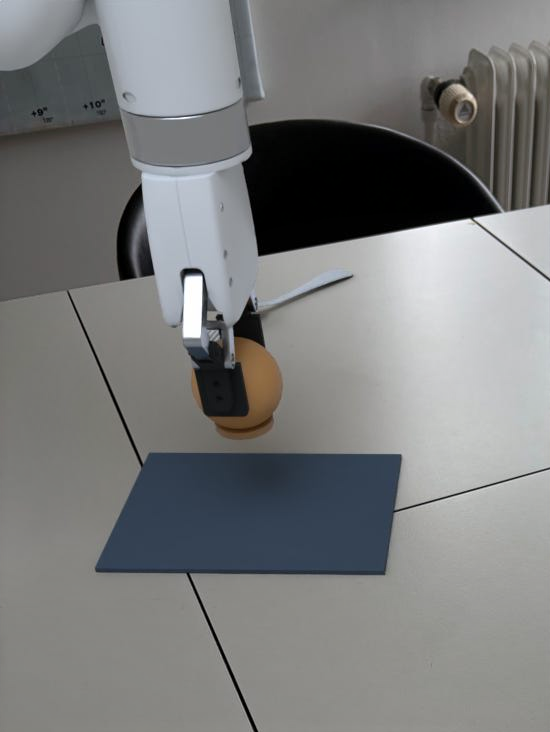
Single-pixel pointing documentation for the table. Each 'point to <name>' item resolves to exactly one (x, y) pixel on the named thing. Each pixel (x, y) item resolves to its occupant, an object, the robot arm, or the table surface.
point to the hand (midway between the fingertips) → (237, 387)
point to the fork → (302, 289)
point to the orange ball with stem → (250, 392)
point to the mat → (256, 514)
